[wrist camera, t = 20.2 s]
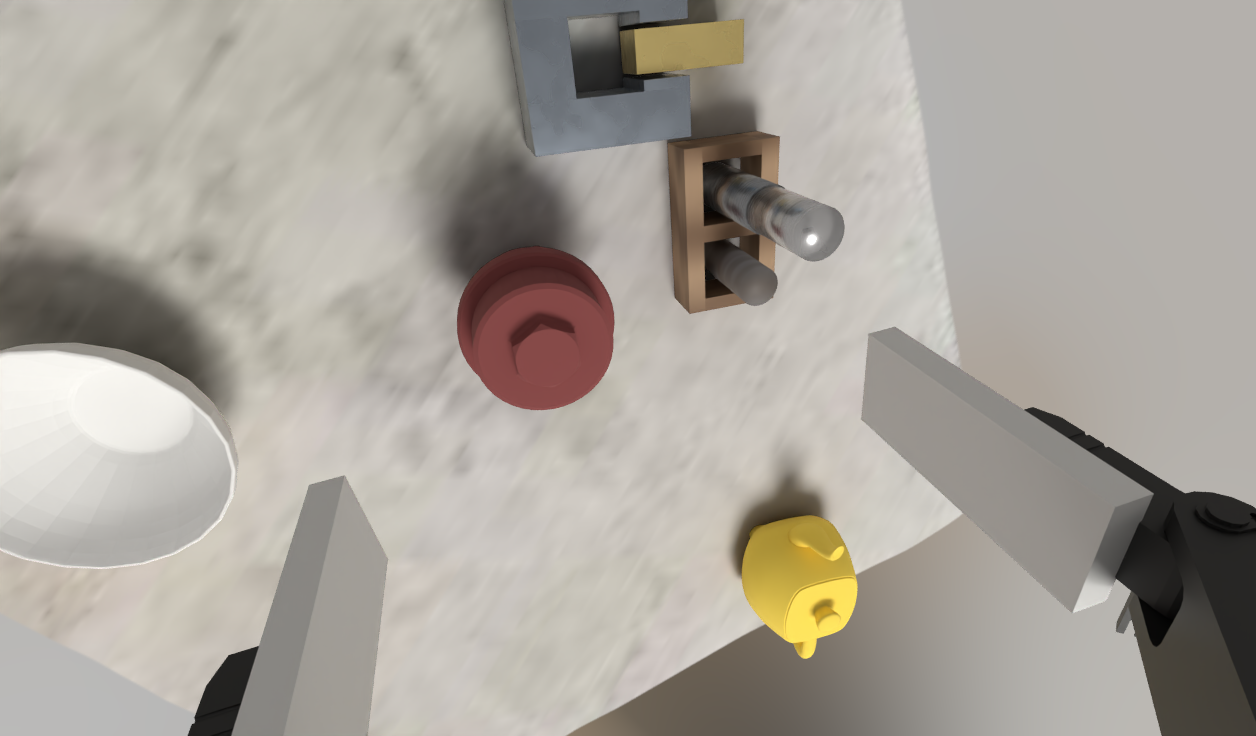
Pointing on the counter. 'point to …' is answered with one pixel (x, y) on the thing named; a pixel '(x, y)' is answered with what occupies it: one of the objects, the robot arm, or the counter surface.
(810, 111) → the counter surface
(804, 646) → the teapot
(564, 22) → the socket block
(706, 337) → the counter surface
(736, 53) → the bar
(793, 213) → the grey cylindrical peg
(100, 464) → the bowl
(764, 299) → the frame
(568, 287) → the mechanical component
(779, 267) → the counter surface
